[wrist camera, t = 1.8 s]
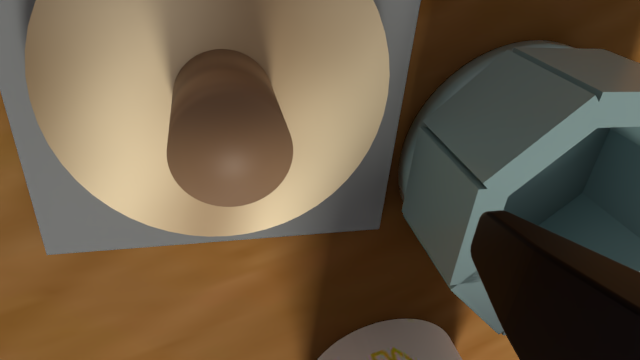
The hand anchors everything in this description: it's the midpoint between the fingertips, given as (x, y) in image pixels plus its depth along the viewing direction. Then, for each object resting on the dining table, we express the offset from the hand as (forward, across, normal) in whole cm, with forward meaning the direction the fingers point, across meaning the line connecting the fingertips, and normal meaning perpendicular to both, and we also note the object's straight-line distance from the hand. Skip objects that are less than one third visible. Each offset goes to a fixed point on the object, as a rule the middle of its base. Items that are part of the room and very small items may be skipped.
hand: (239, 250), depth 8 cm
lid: (+8, 0, 0) cm, 8 cm away
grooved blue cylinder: (+8, -11, +3) cm, 14 cm away
